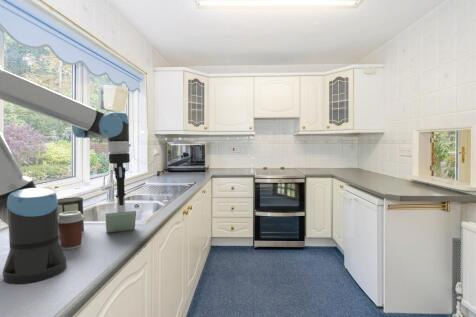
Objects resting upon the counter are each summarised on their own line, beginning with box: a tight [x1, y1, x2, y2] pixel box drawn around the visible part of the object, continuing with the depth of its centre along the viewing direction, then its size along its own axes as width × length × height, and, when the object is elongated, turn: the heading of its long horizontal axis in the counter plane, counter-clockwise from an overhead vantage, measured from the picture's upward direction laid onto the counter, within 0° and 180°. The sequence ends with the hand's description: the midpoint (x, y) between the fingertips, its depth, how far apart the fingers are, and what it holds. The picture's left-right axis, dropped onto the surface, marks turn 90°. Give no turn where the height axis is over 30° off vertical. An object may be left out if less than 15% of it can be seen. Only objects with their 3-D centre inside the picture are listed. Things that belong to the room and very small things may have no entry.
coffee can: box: [57, 196, 85, 238], centre depth 122 cm, size 10×10×14 cm
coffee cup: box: [58, 211, 85, 251], centre depth 107 cm, size 9×9×12 cm
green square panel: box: [105, 210, 137, 233], centre depth 120 cm, size 1×11×12 cm
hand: (121, 212), depth 118 cm, fingers closed
